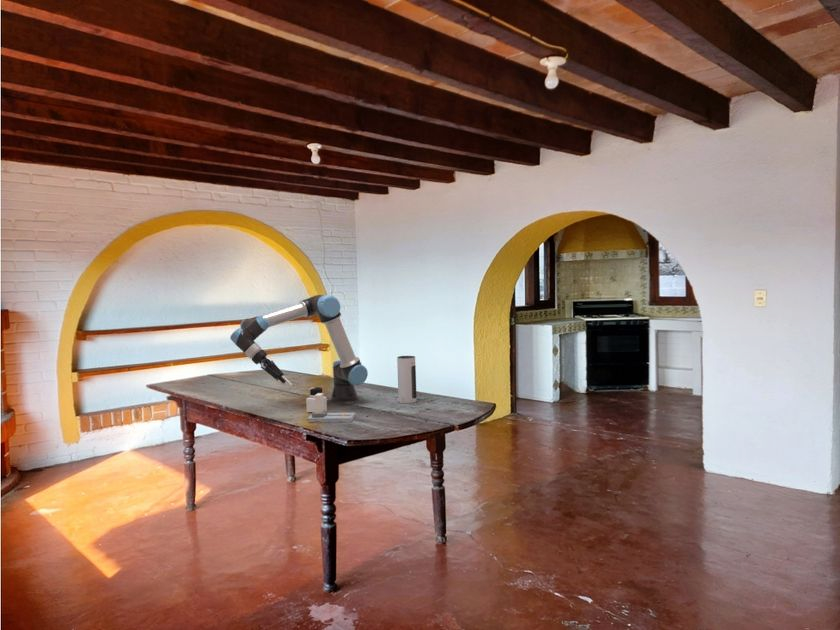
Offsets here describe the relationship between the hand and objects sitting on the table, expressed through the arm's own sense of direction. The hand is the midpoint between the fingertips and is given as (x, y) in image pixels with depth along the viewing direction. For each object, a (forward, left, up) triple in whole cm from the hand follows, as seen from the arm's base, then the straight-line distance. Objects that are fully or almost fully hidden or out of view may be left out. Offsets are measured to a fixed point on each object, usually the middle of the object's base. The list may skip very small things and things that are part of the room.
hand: (290, 386), depth 296 cm
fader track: (0, +21, -17) cm, 27 cm away
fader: (0, +15, -15) cm, 21 cm away
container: (-17, +9, -17) cm, 26 cm away
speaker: (-40, +55, -17) cm, 70 cm away
